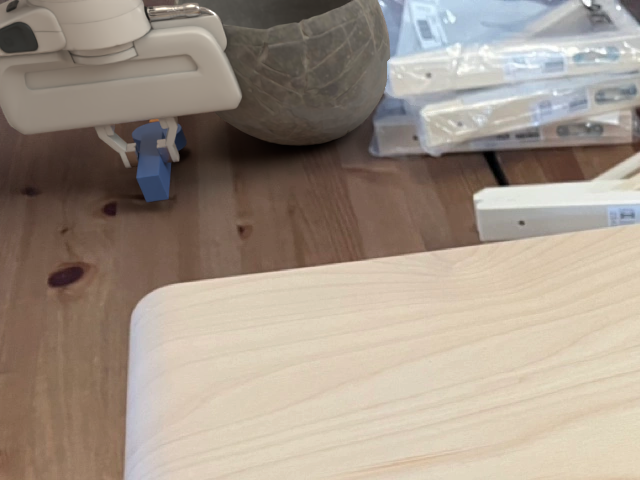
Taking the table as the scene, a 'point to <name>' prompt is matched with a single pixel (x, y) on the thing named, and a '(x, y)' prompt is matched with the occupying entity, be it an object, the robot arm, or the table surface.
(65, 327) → the table surface
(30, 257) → the table surface
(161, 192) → the blue block
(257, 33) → the bowl
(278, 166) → the table surface
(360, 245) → the table surface
